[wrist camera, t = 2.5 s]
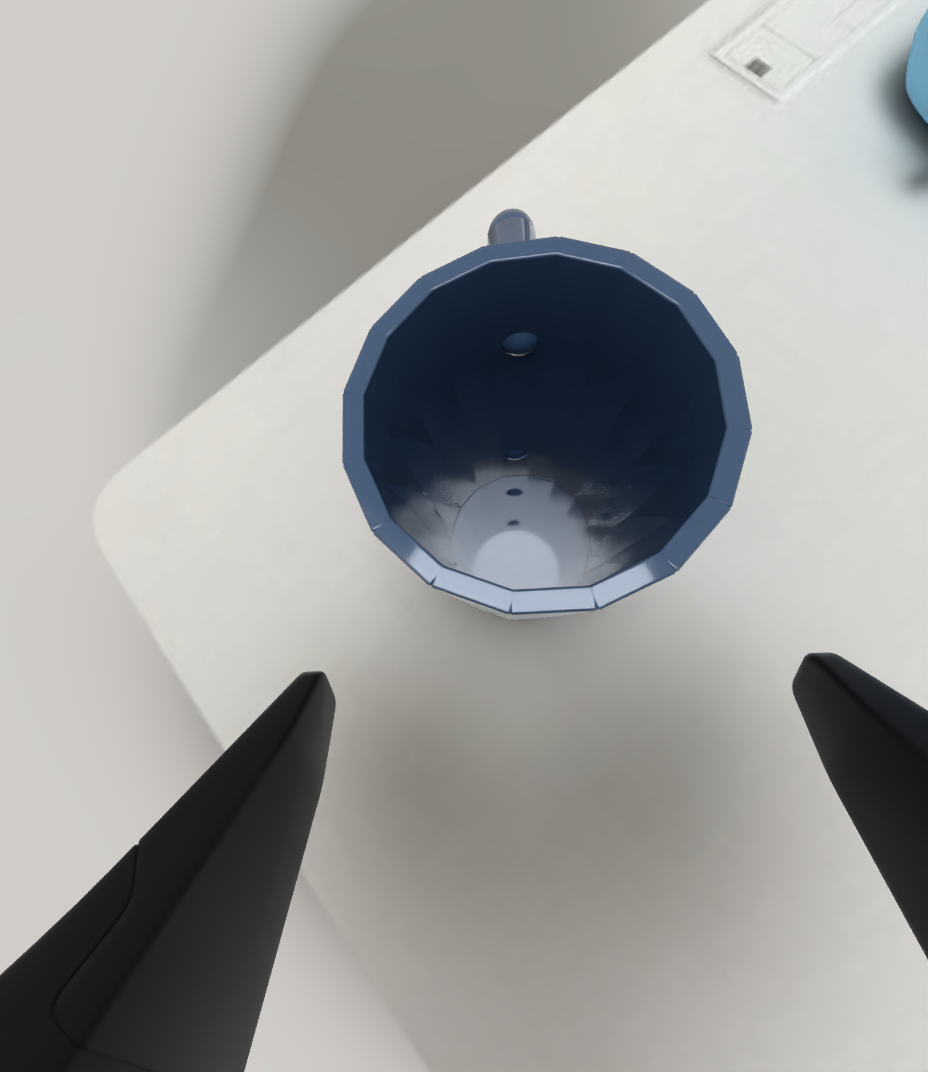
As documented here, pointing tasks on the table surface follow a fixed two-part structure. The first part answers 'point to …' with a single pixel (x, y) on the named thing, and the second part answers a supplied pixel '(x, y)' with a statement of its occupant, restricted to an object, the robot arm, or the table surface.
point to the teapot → (919, 69)
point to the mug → (545, 425)
